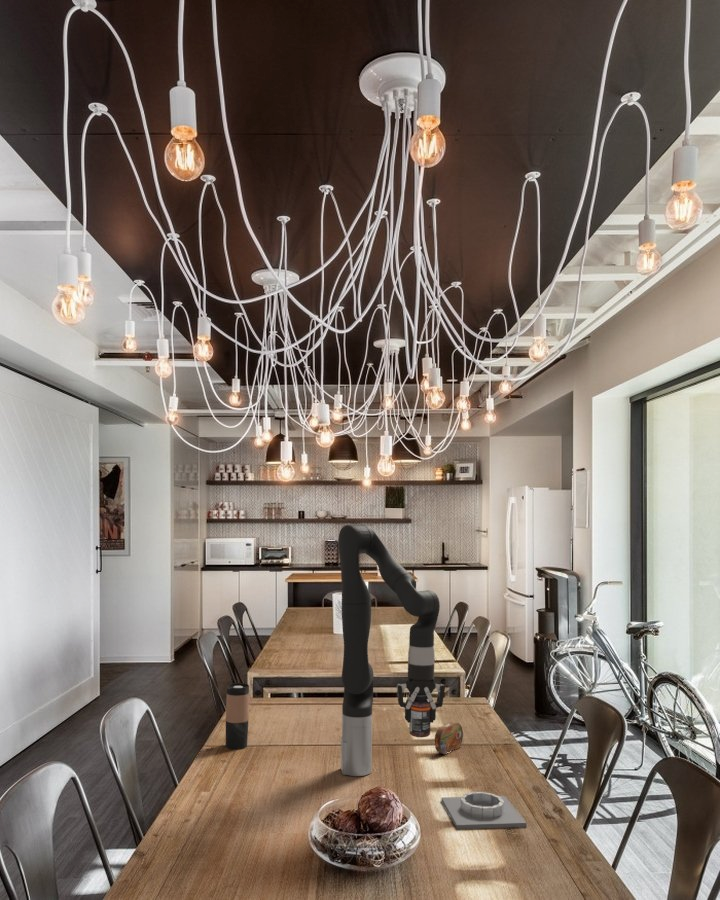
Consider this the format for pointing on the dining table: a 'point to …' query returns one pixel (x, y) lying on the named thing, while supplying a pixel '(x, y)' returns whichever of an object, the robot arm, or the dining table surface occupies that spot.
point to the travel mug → (237, 715)
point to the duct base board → (468, 822)
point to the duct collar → (478, 810)
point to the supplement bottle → (420, 717)
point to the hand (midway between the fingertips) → (419, 721)
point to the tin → (448, 738)
